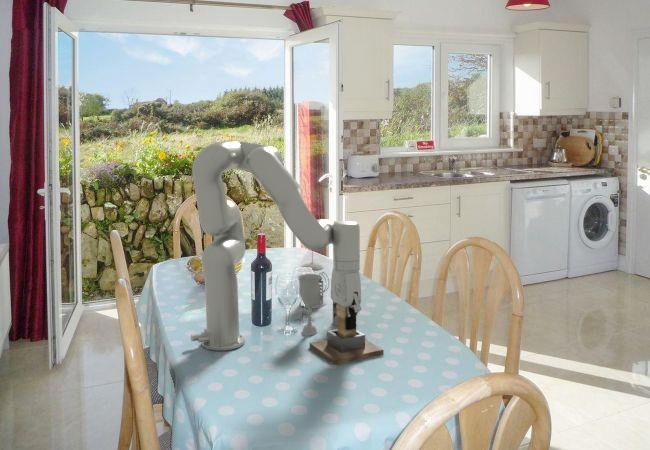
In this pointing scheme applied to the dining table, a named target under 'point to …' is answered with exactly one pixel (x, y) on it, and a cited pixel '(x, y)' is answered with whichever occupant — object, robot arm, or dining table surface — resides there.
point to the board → (345, 357)
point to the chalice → (309, 298)
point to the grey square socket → (345, 341)
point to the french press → (319, 300)
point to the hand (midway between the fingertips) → (346, 326)
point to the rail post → (343, 322)
